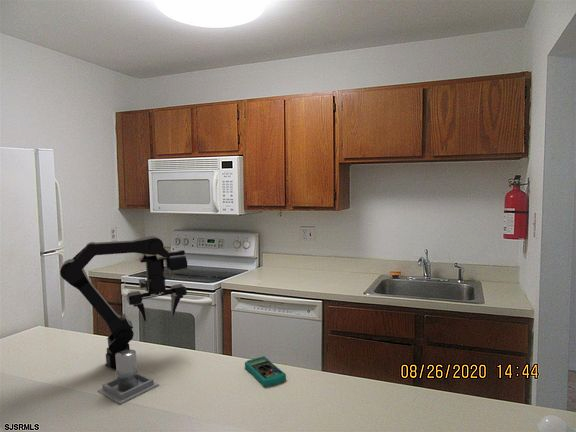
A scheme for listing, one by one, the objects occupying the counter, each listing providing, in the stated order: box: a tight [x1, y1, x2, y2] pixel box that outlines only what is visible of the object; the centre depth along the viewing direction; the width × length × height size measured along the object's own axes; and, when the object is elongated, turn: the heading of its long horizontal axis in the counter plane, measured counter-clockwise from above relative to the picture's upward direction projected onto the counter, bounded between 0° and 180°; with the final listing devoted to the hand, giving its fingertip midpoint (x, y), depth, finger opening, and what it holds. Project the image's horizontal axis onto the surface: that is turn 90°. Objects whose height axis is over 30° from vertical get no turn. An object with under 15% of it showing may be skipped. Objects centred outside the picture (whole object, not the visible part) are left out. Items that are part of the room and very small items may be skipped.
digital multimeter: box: [244, 356, 287, 388], centre depth 124 cm, size 7×15×3 cm, turn 29°
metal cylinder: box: [115, 349, 139, 392], centre depth 118 cm, size 6×6×10 cm
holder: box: [97, 372, 160, 405], centre depth 119 cm, size 12×12×2 cm
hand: (159, 318), depth 139 cm, fingers open, 9 cm apart
